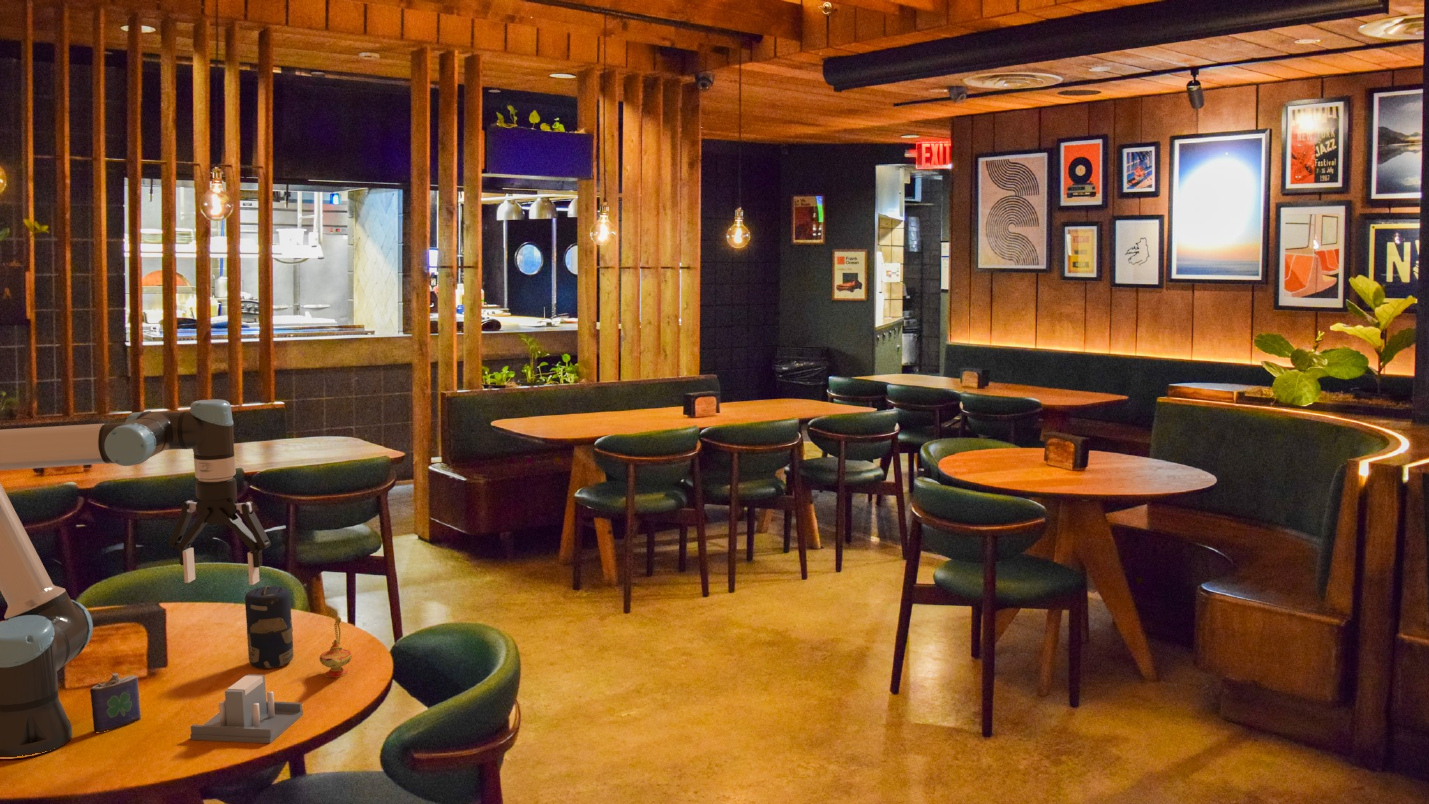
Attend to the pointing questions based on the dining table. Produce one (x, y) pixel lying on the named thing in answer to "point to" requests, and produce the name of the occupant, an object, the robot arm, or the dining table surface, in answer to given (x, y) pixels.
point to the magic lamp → (336, 656)
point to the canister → (269, 626)
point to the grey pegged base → (260, 732)
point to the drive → (245, 700)
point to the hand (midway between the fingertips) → (222, 582)
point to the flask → (115, 703)
